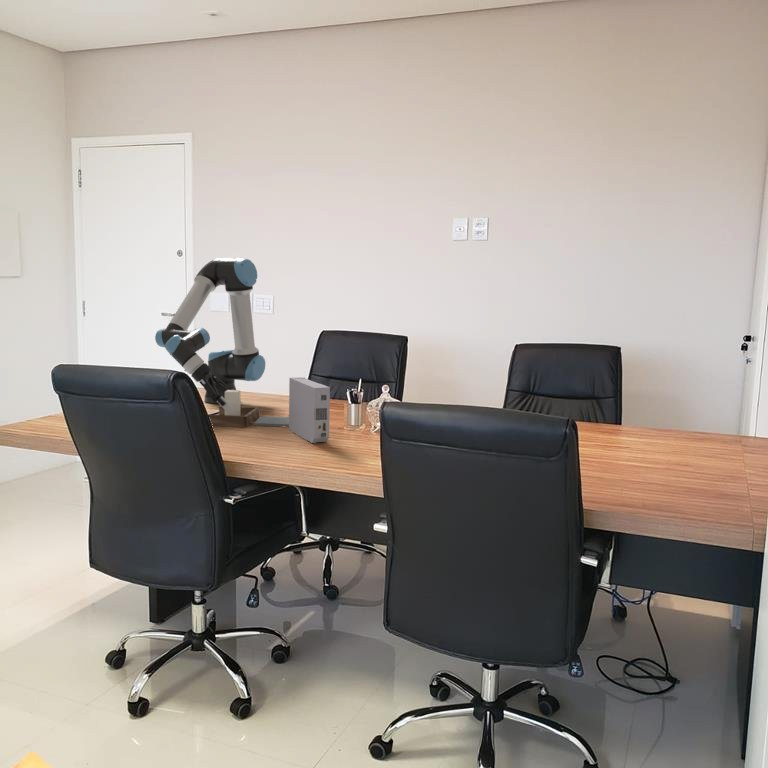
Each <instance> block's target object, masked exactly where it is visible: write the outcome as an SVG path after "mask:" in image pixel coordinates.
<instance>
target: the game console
mask: <svg viewBox="0 0 768 768" xmlns="http://www.w3.org/2000/svg"><path fill="white" fill-rule="evenodd" d="M288 385H289V386H288V387H289V390H288V391H289V392H288V393H289V395H288V396H289V397H288V417H289V427H288V430H289V431H290V432H292V433H293V432H294V434H295V433H296V434H295V435H297V436H298V435H299V436H298V437H300V436H301V437H300V438H302V439H303V438H304V439H303V440H305V439H306V440H305V441H307V440H308V441H310V442H311V443H310V442H309V443H310V444H312V443H313V444H317V443H316V442H328V440H329V438H330V406H331V405H330V404H331V403H330V401H331V400H330V399H331V387H330V386H327V385H325V384H323V383H318V382H316V381H313V380H310V379H308V378H306V377H297V376H296V377H289V384H288ZM308 441H307V442H308Z"/></svg>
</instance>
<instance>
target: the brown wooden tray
mask: <svg viewBox="0 0 768 768" xmlns="http://www.w3.org/2000/svg"><path fill="white" fill-rule="evenodd" d="M218 412H219V413H218V414H208V415H209V417H210V419H211V422H212V424H213V427H234V426H238V427H239V428H240V427H241V428H247V427H249V426H250V425H251V424H252V423H254V422H255V421H256V420H258V419H259V418H260V407H258V406H240V416H232V415H225V410H224V409H223V407H222V406H221V405H219V407H218ZM258 417H259V418H258ZM253 421H254V422H253ZM248 425H249V426H248Z"/></svg>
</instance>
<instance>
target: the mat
mask: <svg viewBox="0 0 768 768" xmlns="http://www.w3.org/2000/svg"><path fill="white" fill-rule="evenodd" d="M252 423H253V425H256V427H257V426H259V427H276V426H288V427H287V428H289V416H286V417H285V416H271V415H270V416H267V415H266V416H265V415H262V416H259V418H257V419H256V420H255V421H254V422H252ZM253 425H252V426H253Z"/></svg>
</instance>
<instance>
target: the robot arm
mask: <svg viewBox="0 0 768 768" xmlns="http://www.w3.org/2000/svg"><path fill="white" fill-rule="evenodd" d="M193 279H194V283H193V285H192V286H191V288H189V289H190V290H189V291H188V293H187V295H185V297H184V299H183V301H182V302H181V304H180V305H179V307H178V308H177V310H176V312H175V313H174V315H173V317H172V318H171V319H170V322H169V323H168V325H167V326H166V328H160V329H158V330H157V331H156V333H155V335H154V339H155V343H156V344H157V346H158V347H160V348H164V349H165V350H166V351H167V352H168V353H169V355H170V356H171V357H172V358H173V359H174V360H175V361H176V362H177V363H178V364H179V365H180V366H181V367H182V368H183V369H184V372H187V373H188V374H189V375H191V377H192V378H193V380H194V381H195V382H198V383H199V384H200V385H201V386H202V387H203V388H204V390H205V393H204V402H205V403H207V404H218V405H219V406H222V407H223V409H224V410H225V411H226V412H227V413H229V412H230V411H231V410H233V409H234V408H233V407H232V406H231V405H230V404H229V403H228V402H227V401H226V400H225V391H227V390H237V388H236V385H235V384H236V383H235V380H237V381H238V380H239V381H245V382H257V381H258V380H260V379H261V378H262V376H263V375H264V373H265V369H266V359H265V357H264V356H262V355H260V350H259V349H258V347H256V346H255V344H256V343H255V334H254V323H253V313H252V305H251V294H250V293H251V292H252V290H254V289H253V288H254V287H253V286H254V285H256V283H257V279H258V271H257V267H256V265H255V264H254V262H252V260H250V259H248V258H242V257H217V258H213V259H212V260H210V261H209V262H208V263H206V264H205V265H204V266H202V268H201V269H199V271H198V273H197V274H196V275H195V277H194V278H193ZM219 286H224V290H225V292H226V293H227V294H228V295H229V300H230V312H231V319H232V329H233V339H234V342H233V343H234V349H228V350H227V349H226V350H215V351H211V352H209V353H208V361H207V363H206V362H205V360H204V359H202V357H200V355H199V354H198V353H197V352H198V351H199V350H201V349H203V348H205V347H206V346H207V345H208V344H209V343H210V341H211V337H210V333H209V332H208V330H207V329H205V328H204V327H197V328H195V329H193V330H188V329H189V327H190V326H191V325H192V323H193V322H194V319H195V318H196V316H197V314H198V313H199V311H200V310H201V307H203V305H204V303H205V302H206V300H207V299H208V297H209V295H210V293H213V292H214V291H216V289H217V287H219ZM242 404H243V402H242V401H241V400H240V406H241V405H242Z"/></svg>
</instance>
